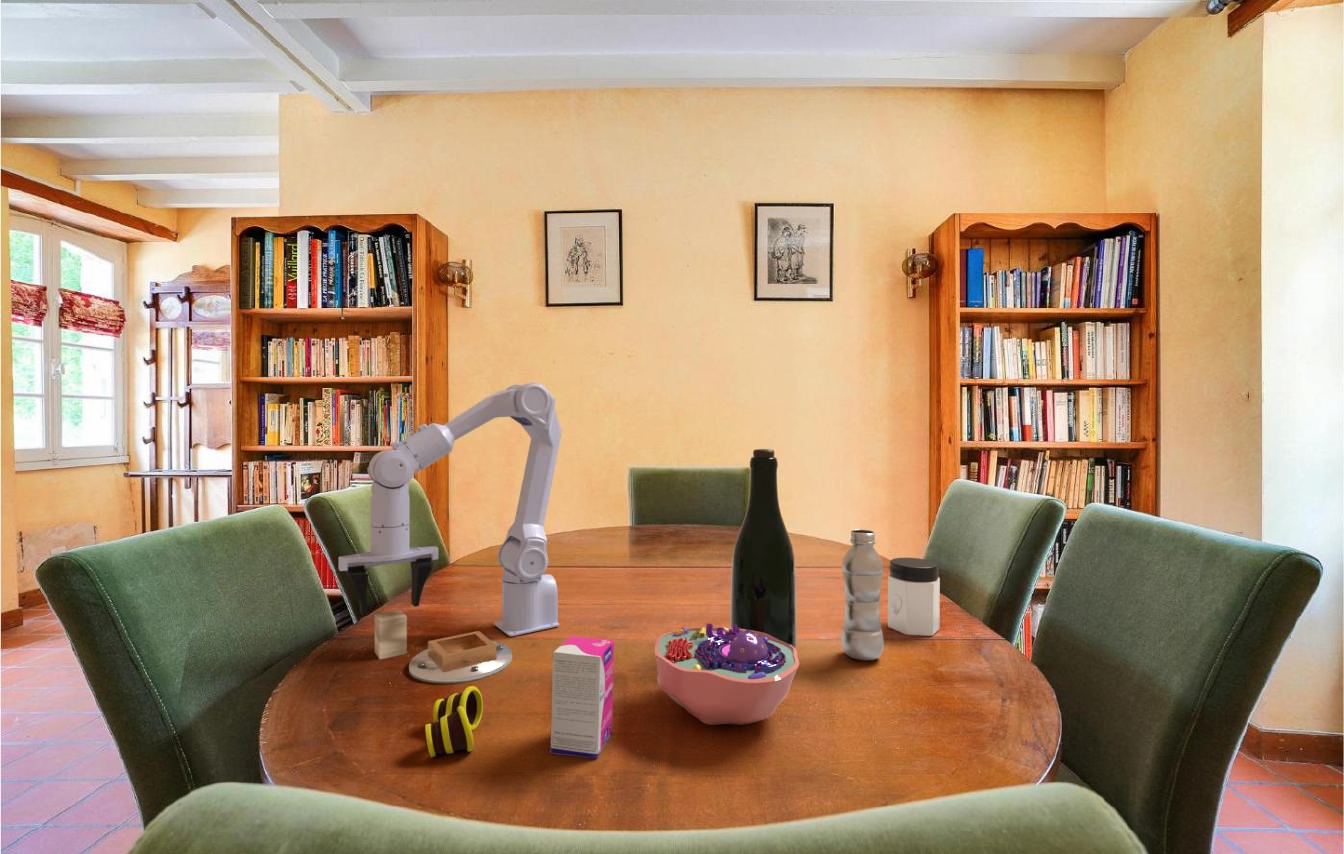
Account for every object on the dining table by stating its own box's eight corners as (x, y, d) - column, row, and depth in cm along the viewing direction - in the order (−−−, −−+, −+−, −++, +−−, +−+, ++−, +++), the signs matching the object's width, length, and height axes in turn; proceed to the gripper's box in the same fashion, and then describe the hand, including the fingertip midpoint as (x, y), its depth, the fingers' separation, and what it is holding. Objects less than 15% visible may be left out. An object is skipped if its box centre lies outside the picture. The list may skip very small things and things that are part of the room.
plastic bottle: (885, 653, 98) (886, 529, 98) (881, 668, 92) (881, 536, 92) (844, 646, 101) (845, 526, 101) (837, 661, 95) (838, 533, 95)
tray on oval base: (492, 638, 104) (492, 621, 104) (527, 666, 92) (527, 647, 92) (398, 658, 96) (398, 639, 96) (423, 692, 83) (423, 671, 83)
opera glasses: (443, 727, 76) (435, 689, 76) (486, 715, 77) (478, 678, 77) (427, 771, 66) (417, 728, 66) (476, 757, 67) (467, 714, 67)
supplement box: (599, 759, 67) (599, 656, 67) (549, 753, 68) (549, 652, 68) (614, 733, 73) (615, 638, 73) (568, 728, 74) (568, 634, 74)
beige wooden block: (400, 646, 101) (401, 610, 101) (406, 653, 98) (406, 616, 98) (374, 651, 99) (374, 614, 98) (379, 659, 95) (379, 621, 95)
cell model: (709, 671, 91) (709, 596, 91) (827, 718, 77) (827, 628, 77) (622, 708, 79) (622, 622, 79) (742, 772, 65) (742, 666, 65)
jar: (878, 623, 113) (878, 559, 113) (911, 618, 116) (912, 555, 116) (914, 639, 104) (915, 569, 104) (950, 633, 108) (950, 565, 107)
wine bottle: (745, 638, 105) (746, 447, 104) (805, 650, 99) (805, 448, 99) (719, 659, 96) (719, 449, 95) (783, 673, 90) (784, 451, 90)
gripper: (430, 517, 105) (430, 595, 106) (335, 525, 97) (335, 610, 97) (442, 523, 100) (441, 605, 100) (342, 532, 91) (342, 622, 91)
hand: (390, 609), depth 98 cm, fingers open, 7 cm apart
